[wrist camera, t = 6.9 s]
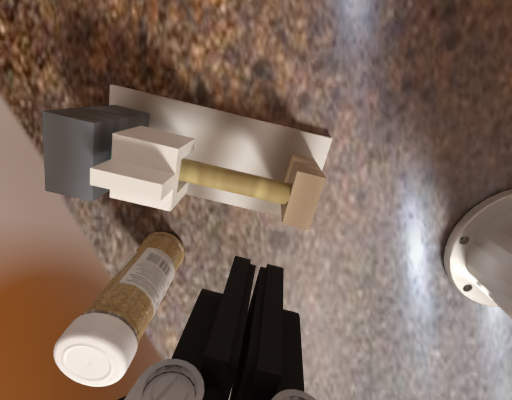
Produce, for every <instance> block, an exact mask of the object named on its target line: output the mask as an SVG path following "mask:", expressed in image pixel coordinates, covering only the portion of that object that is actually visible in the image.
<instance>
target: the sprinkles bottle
mask: <svg viewBox="0 0 512 400" xmlns="http://www.w3.org/2000/svg"><path fill="white" fill-rule="evenodd" d="M184 256H185V251H184V247H183V245H182V243H181V242H180V240H178V238H176V237H175V236H174V235H172V234H170V233H167V232H154V233H151V234H150V235H148V236H147V237H146V238H145V239H144V240H143V242H142V244H141V245H140V247H139V248H138V249H137V250H136V252H134V253H133V254H132V255H131V256H130V257H129V259H128V260H127V261H126V262H125V263H124V264H123V266H122V267H121V268H120V269H119V270H118V272H117V273H116V275H115V277H114V278H113V279H112V280H111V281H110V282H109V284H108V285H107V286H106V287H105V288H104V290H103V291H102V292H101V293H100V295H99V296H98V297H97V298H96V299H95V300H94V302H93V303H92V304H91V306H90V307H89V308H88V309H87V311H86V312H85V313H83V314H82V315H81V316H79V317H78V318H76V319H75V320H74V321H73V322H72V324H71V325H70V326H69V327H68V328H67V329H66V331H65V332H64V333H63V334H62V336H61V337H60V338H59V339H58V341H57V342H56V344H55V347H54V359H55V362H56V364H57V366H58V367H59V369H60V370H61V371H62V372H63V373H64V374H65V375H66V376H68V377H69V378H71V379H72V380H74V381H76V382H78V383H81V384H84V385H88V386H96V387H100V386H107V385H111V384H113V383H115V382H117V381H118V380H120V379H121V378H122V376H123V375H124V374H125V372H126V370H127V369H128V367H129V365H130V363H131V361H132V359H133V357H134V355H135V353H136V351H137V346H138V343H139V340H140V338H141V337H142V335H143V333H144V331H145V329H146V327H147V325H148V324H149V322H150V320H151V319H152V317H153V316H154V314H155V312H156V310H157V308H158V306H159V304H160V302H161V300H162V299H163V297H164V295H165V293H166V291H167V289H168V287H169V285H170V283H171V281H172V279H173V277H174V274H175V272H176V270H177V269H178V267H179V265H180V264H181V263H182V261H183V260H184Z"/></svg>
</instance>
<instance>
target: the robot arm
mask: <svg viewBox="0 0 512 400" xmlns="http://www.w3.org/2000/svg"><path fill="white" fill-rule="evenodd" d="M255 267H256V265H252V264H250V259H246V258H242V257H238V256H235V258H234V261H233V265H232V268H231V271H230V274H229V277H228V280H227V284H226V287H225V290H224V293H223V294H221V293H217V292H214V291H210V290H206V289H202V290H201V292H200V294H199V297H198V299H197V301H196V303H195V306H194V308H193V310H192V313H191V315H190V317H189V320H188V322H187V324H186V326H185V329H184V331H183V333H182V336H181V338H180V340H179V343H178V345H177V347H176V349H175V352H174V354H173V356H172V359H166V360H163V361H160V362H157V363H155V364H154V365H152V366H151V367H149V368H148V369H147V370H146V371H145V372H144V373H143V374H142V375H141V376H140V378H139V379H138V381H137V382H136V383H135V385H134V386H133V388H132V389H131V390H130V392H129V393H128V395H127V396H125V397H123V398H121V399H118V400H228V399H229V395H230V392H231V396H230V400H315V399H314V398H313V397H312V396H310V395H309V394H307V393H305V392H304V380H303V364H302V348H301V332H300V318H299V314H298V313H296V312H292V311H288V310H284V309H283V268H281V267H277V266H273V265H270V264H267V267H266V268H264V267H260V270H259V273H258V277H257V281H256V284H255V288H254V291H253V295H252V299H251V302H250V306H249V301H250V295H251V290H252V284H253V278H254V273H255ZM444 267H445V271H446V273H447V276H448V278H449V280H450V281H451V283H452V284H453V285H454V286H455V288H456V289H457V290H458V291H459V292H460V293H461V294H463V295H464V296H465V297H467V298H468V299H470V300H472V301H474V302H476V303H479V304H482V305H486V306H491V307H500V308H501V309H502V310H503V311H504V312H505V313H506V314H507V315H508V316H509V317H510V318H511V319H512V189H510V190H507V191H503V192H500V193H498V194H496V195H494V196H491V197H489V198H487V199H486V200H484V201H483V202H481V203H479V204H478V205H476V206H475V207H474V208H472V209H471V210H470V211H469V212H468V213H467V214H465V215H464V216H463V218H462V219H461V220H460V221H459V222H458V223H457V225H456V226H455V228H454V229H453V231H452V233H451V234H450V236H449V238H448V241H447V244H446V246H445V252H444ZM248 307H249V309H248ZM247 312H248V313H247ZM231 388H232V391H231Z"/></svg>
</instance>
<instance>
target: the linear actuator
mask: <svg viewBox="0 0 512 400" xmlns="http://www.w3.org/2000/svg"><path fill="white" fill-rule="evenodd" d="M42 118H43V143H44V167H45V189H46V191H49V192H54V193H58V194H62V195H67V196H71V197H75V198H80V199H84V200H88V201H93V200H95V199H97V198H98V197H100V196H102V195H103V194H105V193H107V192H108V191H110V189H105V188H101V187H97V186H92V185H90V168H91V167H93V166H96V165H98V164H100V163H103V162H105V161H108V160H110V159H111V155H112V133H115V132H119V131H123V130H127V129H131V128H134V127H138V126H144V127H149V128H153V129H157V130H161V131H165V132H170V133H174V134H178V135H182V136H186V137H190V138H195V143H194V150H193V151H192V152H191V153H190V154H188V155H187V156H186V157H184V158H183V159H182V160H181V166H180V174H179V180H180V181H185V182H189V183H188V190H187V192H186V194H187V195H191V196H196V197H200V198H204V199H209V200H213V201H217V202H221V203H226V204H230V205H234V206H239V207H243V208H247V209H252V210H256V211H260V212H264V213H269V214H273V215H277V216H282V224H286V225H290V226H294V227H299V228H303V229H307V230H309V228H310V225H311V222H312V219H313V216H314V213H315V210H316V207H317V204H318V201H319V198H320V195H321V192H322V189H323V186H324V183H325V180H326V177H325V176H324V174H323V172H322V170H323V166H324V163H325V160H326V157H327V154H328V151H329V148H330V145H331V142H332V138H331V137H327V136H323V135H319V134H315V133H311V132H307V131H303V130H299V129H295V128H290V127H286V126H282V125H278V124H274V123H270V122H266V121H262V120H258V119H253V118H249V117H245V116H241V115H237V114H233V113H229V112H225V111H220V110H216V109H212V108H208V107H204V106H200V105H196V104H192V103H188V102H183V101H179V100H175V99H171V98H167V97H163V96H159V95H155V94H151V93H146V92H142V91H138V90H134V89H130V88H126V87H122V86H118V85H110V96H109V105H106V106H94V107H82V108H71V109H59V110H47V111H42Z"/></svg>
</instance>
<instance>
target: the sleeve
mask: <svg viewBox="0 0 512 400" xmlns="http://www.w3.org/2000/svg"><path fill="white" fill-rule="evenodd" d="M194 143H195V138H190V137H186V136H182V135H178V134H174V133H170V132H165V131H161V130H157V129H153V128H149V127H144V126H138V127H134V128H131V129H127V130H123V131H119V132H115V133H112V155H111V159H110V160H108V161H105V162H103V163H100V164H98V165H96V166H93V167H91V168H90V185H92V186H97V187H101V188H105V189H110V198H114V199H118V200H123V201H127V202H131V203H136V204H140V205H144V206H149V207H153V208H157V209H162V210H166V211H171V210H172V209H173V208H174V206H175V205H176V204H177V203H178V202H179V201H180V199H181V198H182V197H183V196H184V195H185V194H186V192H187V190H188V183H189V182H185V181H180V180H179V174H180V166H181V160H182V159H183V158H184V157H186V156H187V155H188V154H190V153H191V152H192V151H193V150H194Z"/></svg>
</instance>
